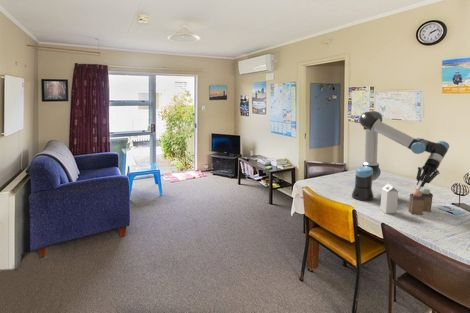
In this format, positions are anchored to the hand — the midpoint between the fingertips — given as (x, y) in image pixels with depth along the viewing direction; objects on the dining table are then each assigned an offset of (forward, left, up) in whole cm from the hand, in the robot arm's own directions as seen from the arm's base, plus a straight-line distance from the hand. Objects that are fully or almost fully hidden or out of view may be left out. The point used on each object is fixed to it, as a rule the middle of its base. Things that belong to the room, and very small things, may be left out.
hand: (417, 190), depth 186 cm
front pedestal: (-1, +1, -16) cm, 16 cm away
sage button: (-8, +8, -6) cm, 12 cm away
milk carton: (0, -16, -16) cm, 23 cm away
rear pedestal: (-8, +8, -16) cm, 19 cm away
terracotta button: (-1, +1, -5) cm, 5 cm away
